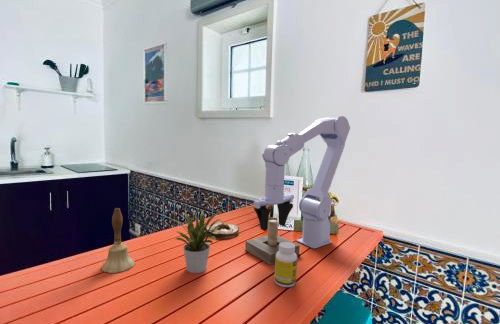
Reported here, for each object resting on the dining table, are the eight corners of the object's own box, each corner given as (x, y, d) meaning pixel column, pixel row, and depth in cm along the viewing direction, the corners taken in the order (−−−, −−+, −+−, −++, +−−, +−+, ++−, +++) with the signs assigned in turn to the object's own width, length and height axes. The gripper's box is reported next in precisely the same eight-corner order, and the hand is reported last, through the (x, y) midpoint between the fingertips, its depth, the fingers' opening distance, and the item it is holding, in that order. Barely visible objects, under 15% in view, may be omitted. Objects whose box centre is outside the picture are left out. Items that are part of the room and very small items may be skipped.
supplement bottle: (295, 289, 67) (297, 250, 66) (273, 286, 68) (274, 247, 67) (296, 278, 72) (298, 241, 71) (275, 275, 73) (277, 239, 72)
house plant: (235, 262, 80) (236, 206, 78) (213, 286, 67) (215, 221, 65) (192, 253, 85) (192, 201, 83) (163, 275, 72) (163, 213, 70)
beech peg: (272, 249, 90) (273, 219, 89) (278, 252, 87) (280, 221, 86) (265, 251, 88) (266, 221, 87) (271, 255, 85) (272, 223, 84)
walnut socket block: (273, 241, 96) (273, 233, 96) (299, 254, 86) (299, 245, 86) (245, 250, 89) (245, 240, 88) (270, 264, 79) (270, 254, 79)
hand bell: (95, 266, 75) (93, 209, 74) (125, 256, 82) (124, 203, 80) (110, 276, 70) (109, 215, 69) (140, 265, 77) (140, 208, 75)
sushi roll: (193, 233, 103) (193, 222, 102) (223, 224, 114) (223, 214, 113) (220, 245, 93) (221, 233, 92) (250, 234, 104) (250, 223, 104)
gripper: (282, 180, 93) (281, 220, 94) (247, 184, 84) (246, 228, 85) (298, 183, 87) (296, 225, 89) (262, 188, 78) (261, 235, 80)
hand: (273, 227), depth 87 cm, fingers open, 7 cm apart
